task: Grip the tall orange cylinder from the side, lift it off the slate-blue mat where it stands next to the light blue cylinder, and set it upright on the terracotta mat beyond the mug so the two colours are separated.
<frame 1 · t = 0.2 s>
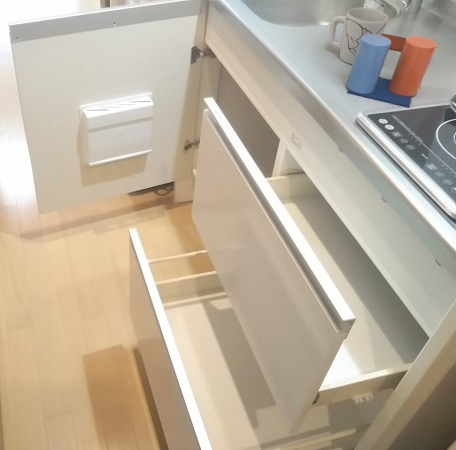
blue mat: (380, 89, 106), on the countertop
light blue cylinder: (360, 87, 106), resting on blue mat
tall orange cylinder: (402, 89, 106), resting on blue mat
mug: (347, 58, 117), on the countertop
terracotta mat: (384, 41, 125), on the countertop
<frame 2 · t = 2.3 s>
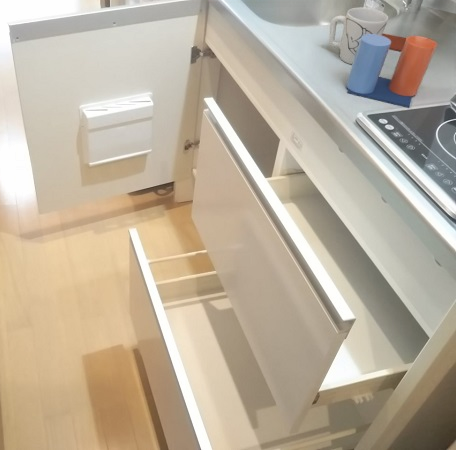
nothing on the countertop moved.
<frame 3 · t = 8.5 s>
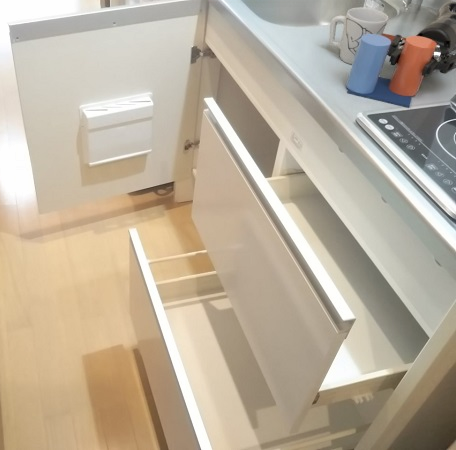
hand: (409, 65, 100), 6 cm above the countertop, tool horizontal, fingers closed on tall orange cylinder, 5 cm apart
tall orange cylinder: (402, 89, 106), resting on blue mat, touching gripper
everything else where it was.
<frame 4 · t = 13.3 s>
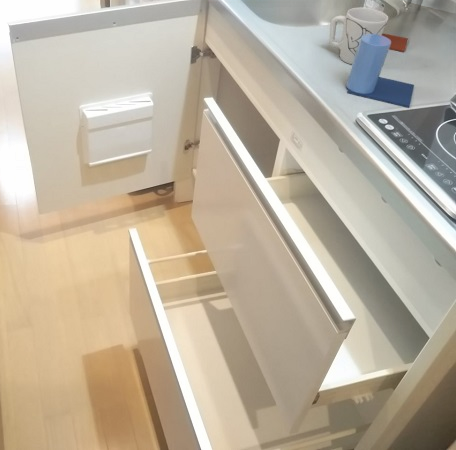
when the fingers open (6 cm above the countertop, at t = 18.5 s): tall orange cylinder stays where it is, resting on terracotta mat.
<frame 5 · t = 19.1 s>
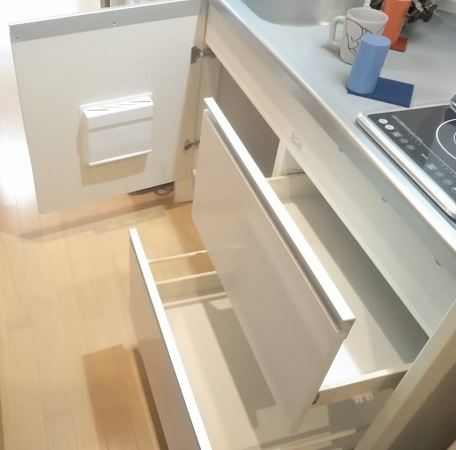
hand: (391, 14, 119), 7 cm above the countertop, tool horizontal, fingers open, 8 cm apart
tall orange cylinder: (384, 39, 124), resting on terracotta mat
everything else where it was.
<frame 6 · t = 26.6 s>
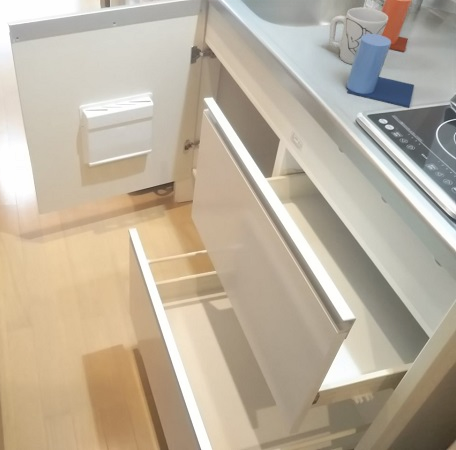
nothing on the countertop moved.
at the end: tall orange cylinder inside the target area on the terracotta mat (0.1 cm from its centre), point 0.4 cm above the terracotta mat's base; tall orange cylinder tilted 0°; light blue cylinder moved 0.0 cm from its start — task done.
